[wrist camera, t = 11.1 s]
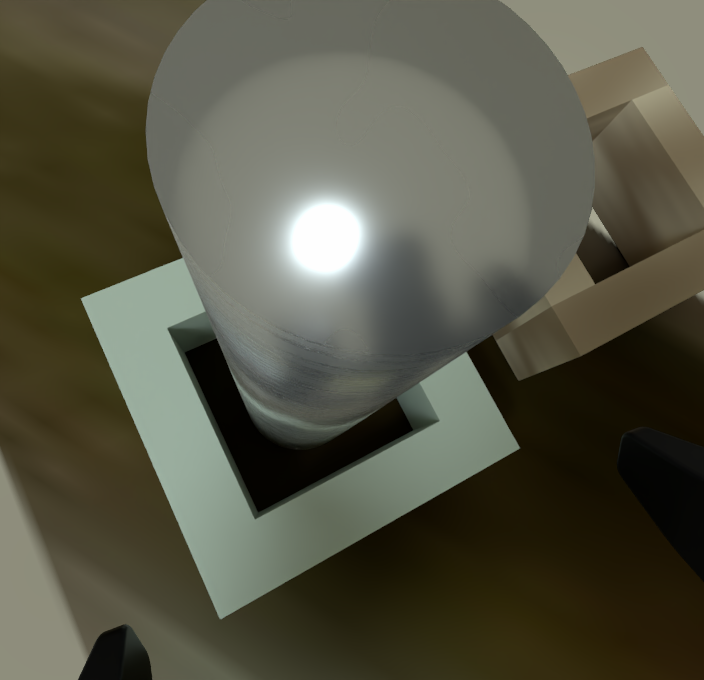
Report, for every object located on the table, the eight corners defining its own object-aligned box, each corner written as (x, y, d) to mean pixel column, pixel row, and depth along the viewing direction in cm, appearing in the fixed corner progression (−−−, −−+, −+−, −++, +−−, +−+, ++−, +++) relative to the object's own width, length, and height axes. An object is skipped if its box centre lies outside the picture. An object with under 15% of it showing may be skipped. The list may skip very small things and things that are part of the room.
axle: (374, 418, 18) (674, 241, 4) (274, 470, 17) (273, 442, 4) (325, 323, 18) (461, -90, 5) (227, 369, 18) (71, 17, 4)
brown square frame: (686, 291, 21) (780, 248, 17) (518, 380, 19) (580, 356, 15) (578, 122, 22) (642, 46, 18) (410, 190, 20) (442, 122, 16)
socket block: (480, 453, 18) (519, 448, 15) (229, 594, 16) (219, 619, 13) (357, 226, 19) (372, 182, 17) (112, 328, 17) (80, 298, 15)
